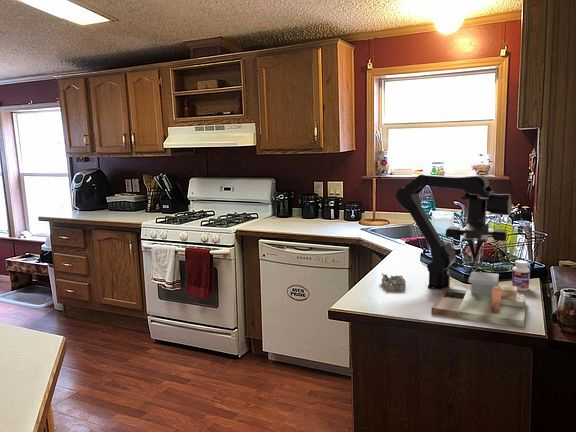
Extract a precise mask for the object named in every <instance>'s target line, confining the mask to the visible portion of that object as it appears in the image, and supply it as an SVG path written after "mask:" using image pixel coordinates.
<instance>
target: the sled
mask: <svg viewBox="0 0 576 432" xmlns="http://www.w3.org/2000/svg"><path fill="white" fill-rule="evenodd" d="M519 297H520V301H518V300H509V299H501V286H498V287H496V286H494V287H492V302H491V311H492V312H500V304H503V305H511V306H518V307H523V303H524V298H525V294H520V295H519Z"/></svg>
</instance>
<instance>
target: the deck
mask: <svg viewBox="0 0 576 432" xmlns="http://www.w3.org/2000/svg"><path fill="white" fill-rule="evenodd" d="M517 300H518V301H520V296H517ZM526 301H527V299H526V297H524V303H523V307H518V306H511V305H503V304H500V312H492V311H491V302H492V296H488V295H480V294H472V293H471V290H465V289H458V288H457V289H455V288H449V287H448V288H443V289H441V292H440V293H439V295H438V296H437V298H436V300H435V301H434V303H433V305H432V306H431V313H430V314H431V315H437V316H441V317H442V316H444V317H451V318H457V319H463V320H469V321H470V320H471V321H477V322H484V323H490V324H497V325H504V326H511V327H517V328H522V329H523V328H524V326H525V325H524V324H525V314H526V313H525V312H526Z"/></svg>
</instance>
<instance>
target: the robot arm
mask: <svg viewBox="0 0 576 432" xmlns="http://www.w3.org/2000/svg"><path fill="white" fill-rule="evenodd" d="M425 187H437V188H438V187H439V188H449V189H457V190H461V191H463V192H465V194H464V195H463V196H461V200H467V215H466V216H467V219H466V225H465V229H461V227H460V226H449V227H448V228H447V229H446V230H445V238H452V239H455V238H456V237H457V236H463V238H462V239H463V241H465V242H466V243H467V244H468V247H469V248H470V252H471V254H472V257H473V259H475V260H477V257H478V256H479V252H480V250H481V247H482V245H483V243H487V242H488V240H489V238H492V239H493V240H494V241H496V242H498V241H499V242H506V241H507V240H508V239H507V238H508V231H507V229H493V231H489V230H490V228H489V227H490V226H489V223H486V220H487V219H486V218H487V212H489V213H490V215H499V216H510V215H511V213H512V211H513V203H512V197H511V194H510V193H500V194H499V193H496V192H495V191H494V190H493V189H492V187H491V185H490V181H489V179H488V178H487V177H486V176H485V175H483V174H478V175H469V176H468V175H467V176H452V175H439V174H438V175H436V174H428V173H423V174H418V175H417V177H416V178H415V179H413V180H412V181H410V182H409V183H408V184H407V185H405V186H404V187H401V188H399V189H397V191H396V194H395V199H396V201H397V202H398V203H399V204H400V206H401V207H403V209H405V210H406V211H407V212H408V213H409V214H410V215H411V217H412V219H413V221H414V223H415V225H417V227H418V229H419V230H420V232H421V234H422V236H423V238H424V239H425V241H426V242H427V244H428V246H429V250H430V255H431V257H432V261H431V262H430V263H429V264H427V265H426V268H427V271H428V284H427V288H429V289H436V290H443V288H449V287H450V286H451V273H450V272H449V271H450V269H449V268H451V265H453V264H454V263H455V262H456V258H457V256H456V250H454V247H452V244H451V243H450V242H447V243H445V242H444V240H442V239H441V237H440V235H439V234H438V232H437V230H436V229H435V227H434V225H433V224H432V222H431V220H430V219H429V217H428V215H427V214H426V212H425V209H423V207H422V204H421V199H420V198H421V197H420V195H419V194H420V193H421V192H422V191H423V190H424V189H425ZM475 240H476V241H475Z"/></svg>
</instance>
